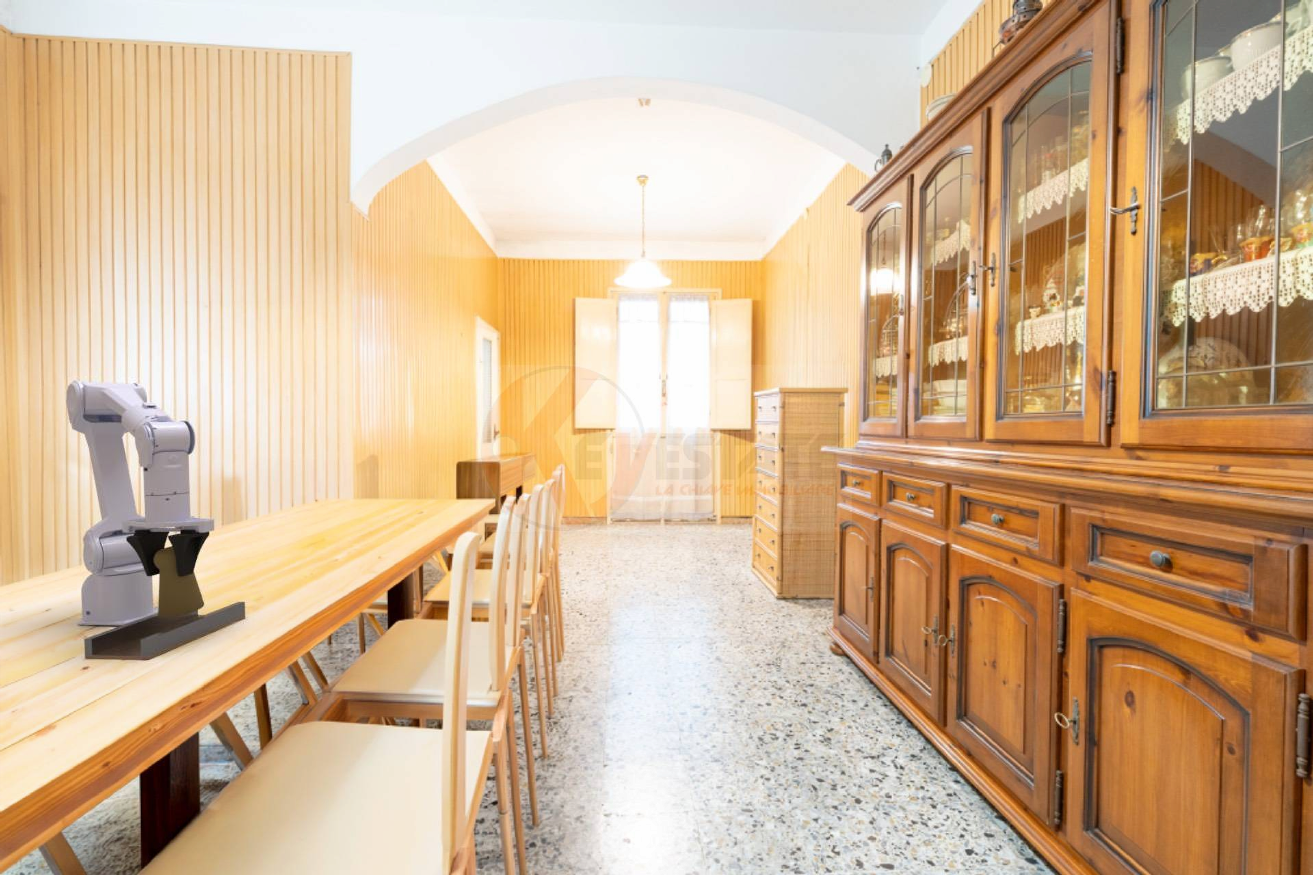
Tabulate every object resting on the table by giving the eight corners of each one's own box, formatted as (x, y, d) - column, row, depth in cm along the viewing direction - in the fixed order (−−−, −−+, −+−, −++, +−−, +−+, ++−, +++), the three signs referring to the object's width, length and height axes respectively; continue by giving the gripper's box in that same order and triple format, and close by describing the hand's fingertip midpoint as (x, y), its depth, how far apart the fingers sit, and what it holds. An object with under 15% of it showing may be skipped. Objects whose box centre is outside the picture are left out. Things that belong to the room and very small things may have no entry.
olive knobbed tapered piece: (176, 618, 92) (167, 553, 90) (148, 616, 93) (139, 552, 92) (213, 603, 97) (205, 542, 96) (186, 601, 99) (177, 540, 97)
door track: (85, 658, 85) (84, 638, 85) (192, 617, 103) (191, 601, 103) (148, 659, 84) (147, 639, 84) (245, 618, 102) (244, 601, 102)
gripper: (228, 490, 96) (231, 568, 97) (150, 490, 97) (153, 568, 98) (191, 495, 89) (194, 580, 90) (107, 496, 90) (110, 579, 91)
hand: (170, 574), depth 93 cm, fingers closed on olive knobbed tapered piece, 5 cm apart
